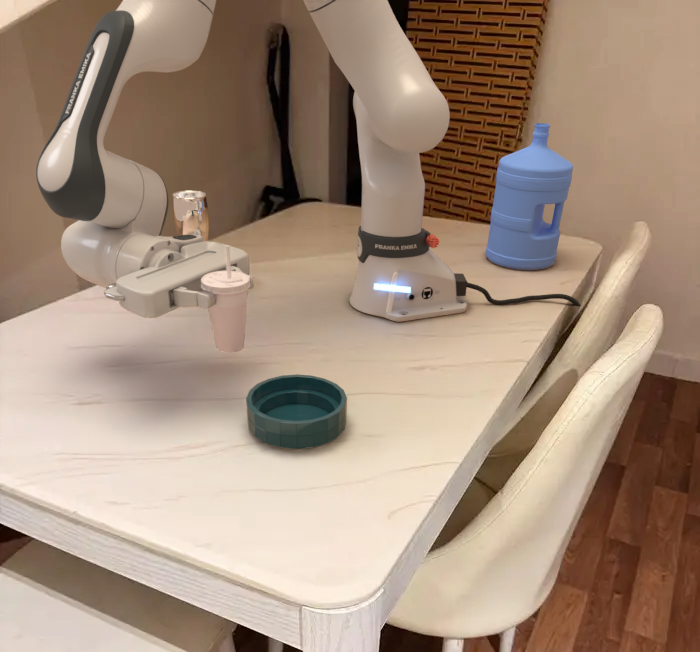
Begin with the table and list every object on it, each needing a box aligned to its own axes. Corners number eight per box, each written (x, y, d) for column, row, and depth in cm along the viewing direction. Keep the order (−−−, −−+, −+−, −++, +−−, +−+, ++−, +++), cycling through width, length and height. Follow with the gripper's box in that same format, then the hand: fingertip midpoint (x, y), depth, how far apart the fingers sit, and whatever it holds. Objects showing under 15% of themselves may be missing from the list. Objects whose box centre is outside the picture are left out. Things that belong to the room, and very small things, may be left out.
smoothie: (244, 359, 93) (238, 255, 85) (199, 353, 94) (189, 250, 86) (259, 339, 98) (255, 240, 90) (216, 334, 99) (208, 235, 91)
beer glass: (181, 262, 150) (173, 189, 142) (214, 262, 151) (208, 190, 142) (177, 273, 145) (169, 198, 136) (211, 273, 145) (205, 198, 137)
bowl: (335, 398, 103) (335, 371, 100) (355, 447, 92) (356, 418, 90) (243, 406, 100) (242, 378, 98) (253, 457, 90) (252, 427, 87)
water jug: (477, 264, 155) (496, 126, 139) (493, 245, 167) (512, 116, 151) (548, 276, 150) (576, 134, 134) (559, 255, 162) (586, 122, 146)
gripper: (91, 268, 88) (171, 292, 82) (202, 230, 103) (277, 249, 97) (100, 315, 92) (177, 341, 86) (206, 272, 106) (279, 292, 100)
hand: (231, 292), depth 91 cm, fingers closed on smoothie, 6 cm apart
